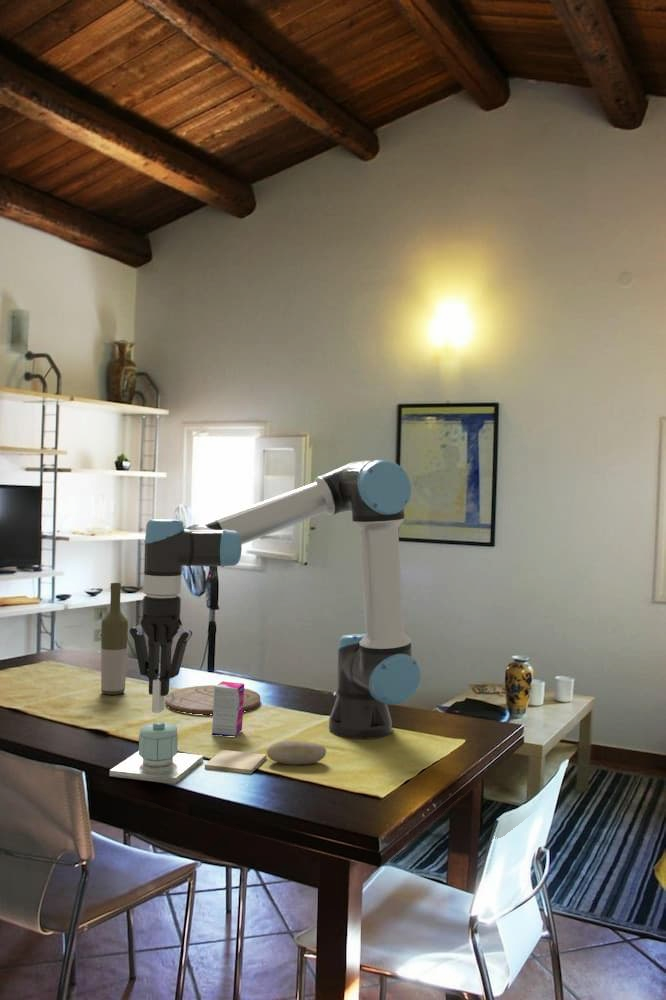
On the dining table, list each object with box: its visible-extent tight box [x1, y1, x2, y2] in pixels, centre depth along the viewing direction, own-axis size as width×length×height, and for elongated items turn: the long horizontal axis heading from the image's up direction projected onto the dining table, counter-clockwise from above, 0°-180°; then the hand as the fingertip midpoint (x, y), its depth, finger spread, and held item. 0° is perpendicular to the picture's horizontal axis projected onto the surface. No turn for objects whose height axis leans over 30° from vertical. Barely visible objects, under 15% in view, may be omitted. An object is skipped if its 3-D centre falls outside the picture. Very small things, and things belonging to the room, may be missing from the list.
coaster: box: [204, 749, 267, 775], centre depth 176 cm, size 10×10×1 cm
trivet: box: [165, 684, 261, 715], centre depth 223 cm, size 25×25×2 cm
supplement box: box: [211, 681, 245, 737], centre depth 196 cm, size 6×6×12 cm
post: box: [109, 750, 204, 785], centre depth 171 cm, size 14×14×7 cm
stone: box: [266, 740, 327, 766], centre depth 177 cm, size 6×6×12 cm
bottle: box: [100, 582, 129, 696], centre depth 229 cm, size 7×7×30 cm
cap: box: [138, 721, 179, 760], centre depth 171 cm, size 7×7×6 cm
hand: (158, 710), depth 171 cm, fingers closed
